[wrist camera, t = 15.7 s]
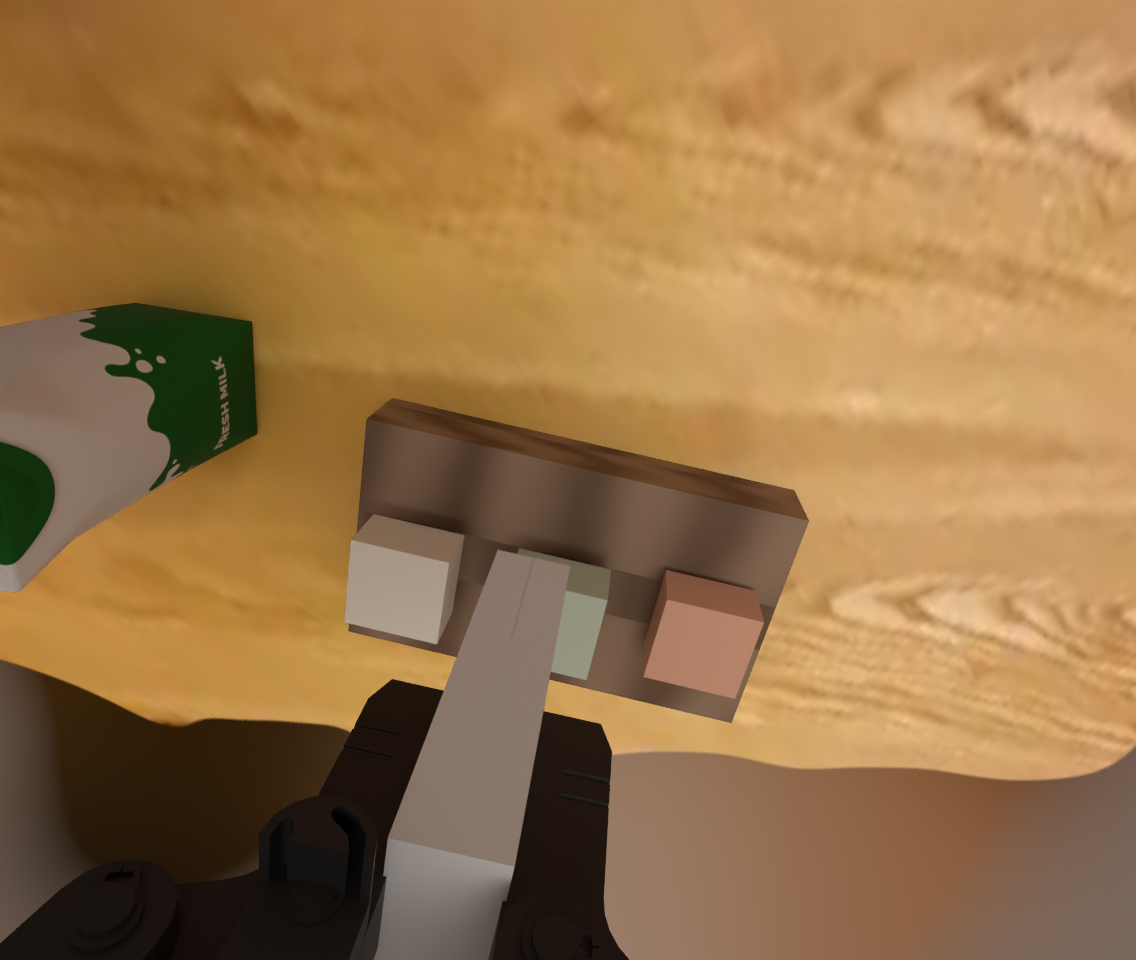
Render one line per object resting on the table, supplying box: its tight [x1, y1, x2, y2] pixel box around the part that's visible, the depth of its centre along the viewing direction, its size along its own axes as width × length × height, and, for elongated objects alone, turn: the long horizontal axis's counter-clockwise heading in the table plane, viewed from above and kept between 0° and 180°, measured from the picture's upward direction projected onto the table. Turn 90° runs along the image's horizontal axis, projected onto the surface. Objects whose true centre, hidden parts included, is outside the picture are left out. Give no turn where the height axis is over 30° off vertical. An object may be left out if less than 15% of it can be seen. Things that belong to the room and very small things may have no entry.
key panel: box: [348, 399, 809, 723], centre depth 41 cm, size 24×14×4 cm, turn 79°
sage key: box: [517, 548, 611, 680], centre depth 37 cm, size 5×5×6 cm
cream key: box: [344, 514, 464, 644], centre depth 38 cm, size 5×5×6 cm
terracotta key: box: [643, 570, 764, 699], centre depth 39 cm, size 5×5×6 cm
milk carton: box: [0, 303, 257, 593], centre depth 32 cm, size 9×9×20 cm
